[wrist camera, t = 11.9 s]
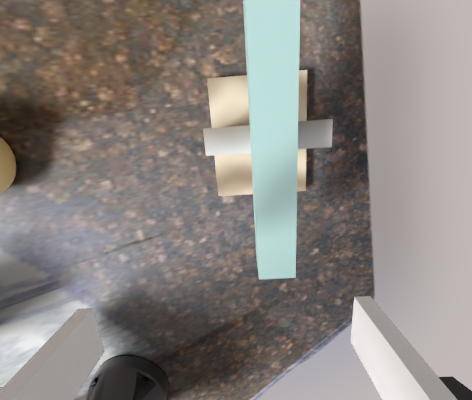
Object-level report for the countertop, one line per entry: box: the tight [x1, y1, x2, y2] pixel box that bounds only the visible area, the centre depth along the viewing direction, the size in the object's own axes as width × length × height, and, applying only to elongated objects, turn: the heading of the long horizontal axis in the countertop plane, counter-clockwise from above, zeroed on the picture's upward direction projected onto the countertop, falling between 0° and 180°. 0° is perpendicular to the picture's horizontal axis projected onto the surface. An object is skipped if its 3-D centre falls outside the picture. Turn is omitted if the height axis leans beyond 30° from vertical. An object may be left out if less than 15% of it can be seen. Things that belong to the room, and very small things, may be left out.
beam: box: [243, 0, 300, 279], centre depth 19 cm, size 26×4×4 cm, turn 4°
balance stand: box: [203, 70, 333, 196], centre depth 27 cm, size 16×13×12 cm
